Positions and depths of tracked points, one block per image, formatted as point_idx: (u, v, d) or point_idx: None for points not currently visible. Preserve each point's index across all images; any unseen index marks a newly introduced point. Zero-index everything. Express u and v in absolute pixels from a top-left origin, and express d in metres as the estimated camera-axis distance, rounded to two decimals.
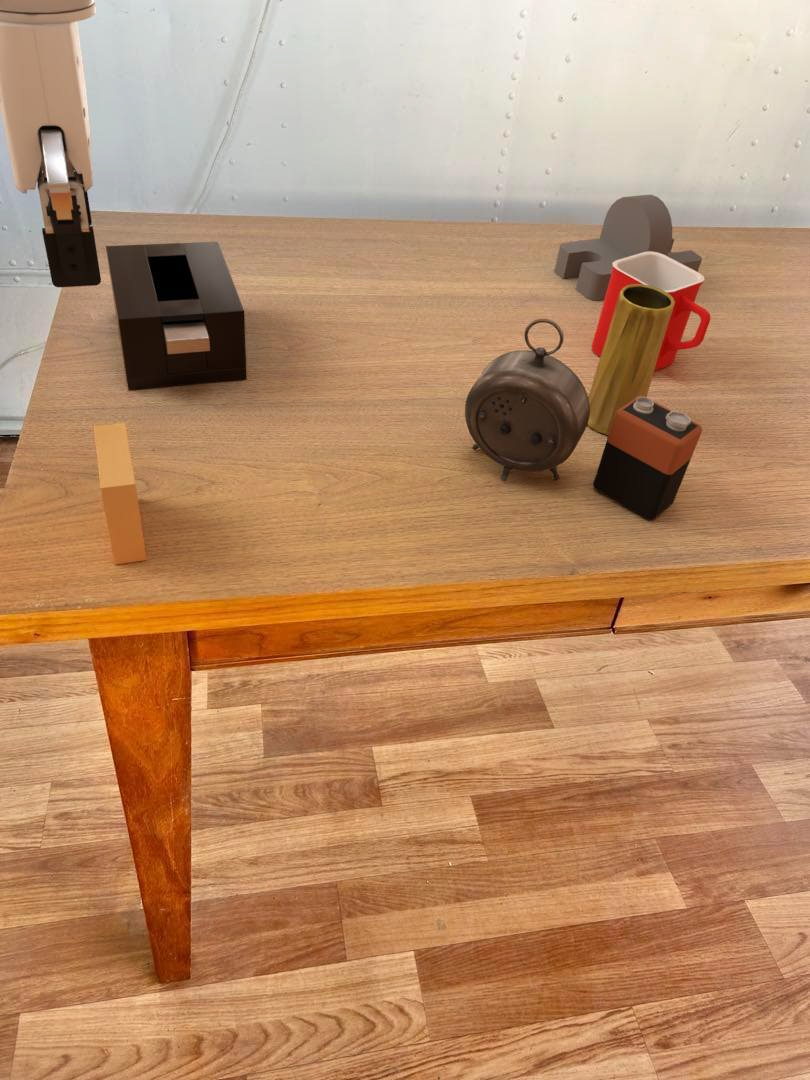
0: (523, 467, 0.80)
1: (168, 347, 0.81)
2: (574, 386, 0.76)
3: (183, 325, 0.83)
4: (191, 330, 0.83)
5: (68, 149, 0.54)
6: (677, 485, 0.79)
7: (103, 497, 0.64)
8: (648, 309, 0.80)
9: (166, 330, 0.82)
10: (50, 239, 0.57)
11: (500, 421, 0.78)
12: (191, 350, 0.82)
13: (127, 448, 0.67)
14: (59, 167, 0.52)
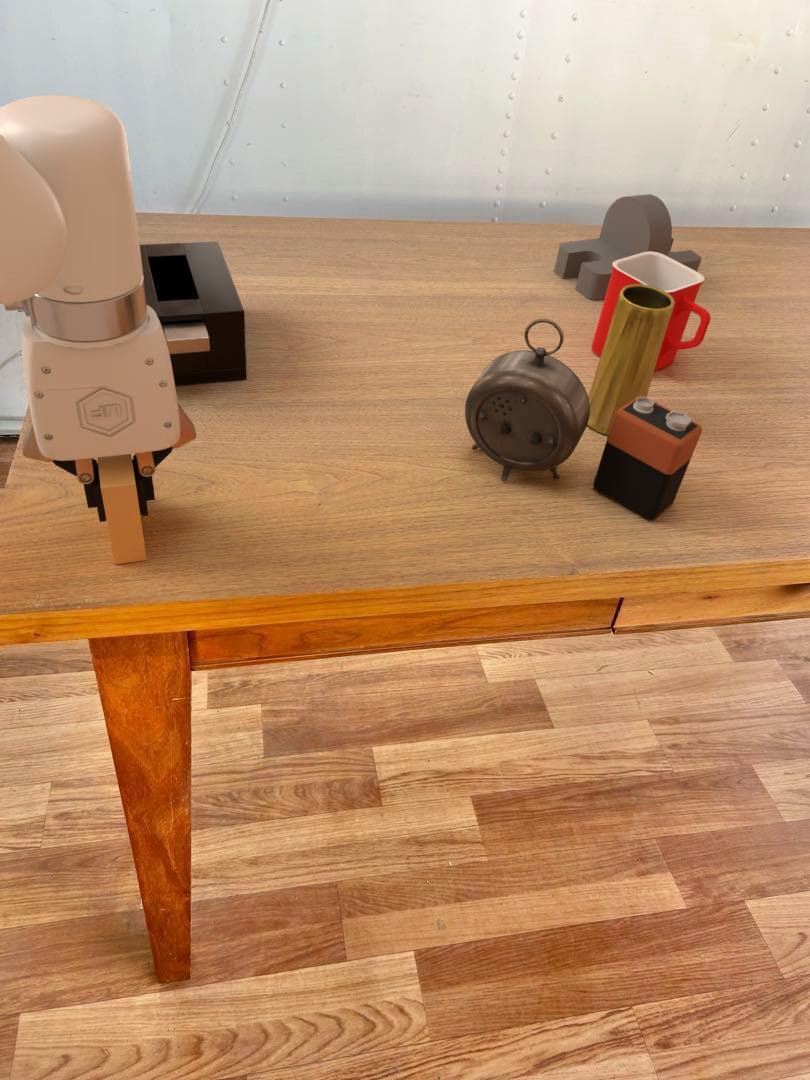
0: (523, 467, 0.80)
1: (168, 347, 0.81)
2: (574, 386, 0.76)
3: (183, 325, 0.83)
4: (191, 330, 0.83)
5: None
6: (677, 485, 0.79)
7: (103, 497, 0.64)
8: (648, 309, 0.80)
9: (166, 330, 0.82)
10: (143, 481, 0.68)
11: (500, 421, 0.78)
12: (191, 350, 0.82)
13: None
14: (187, 418, 0.67)
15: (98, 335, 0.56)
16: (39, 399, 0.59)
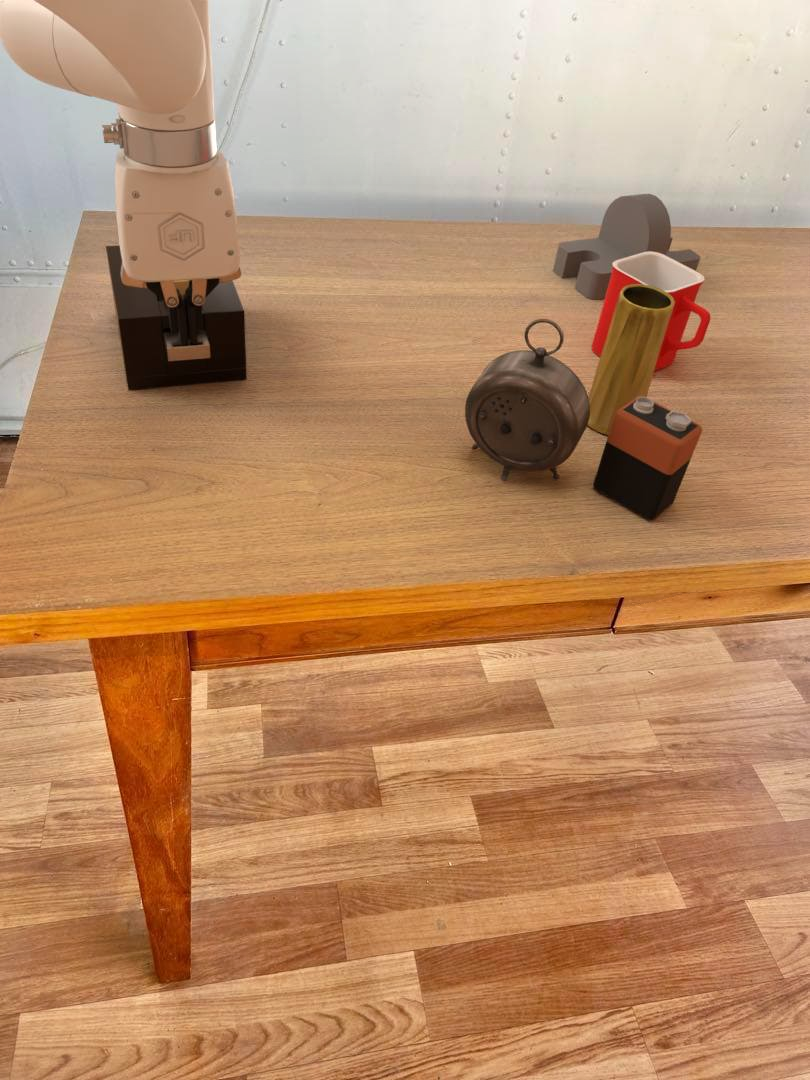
0: (523, 467, 0.80)
1: (169, 354, 0.82)
2: (574, 386, 0.76)
3: None
4: None
5: None
6: (677, 485, 0.79)
7: None
8: (648, 309, 0.80)
9: (167, 337, 0.83)
10: (194, 310, 0.80)
11: (500, 420, 0.78)
12: (192, 357, 0.83)
13: None
14: None
15: (180, 162, 0.69)
16: (128, 221, 0.72)
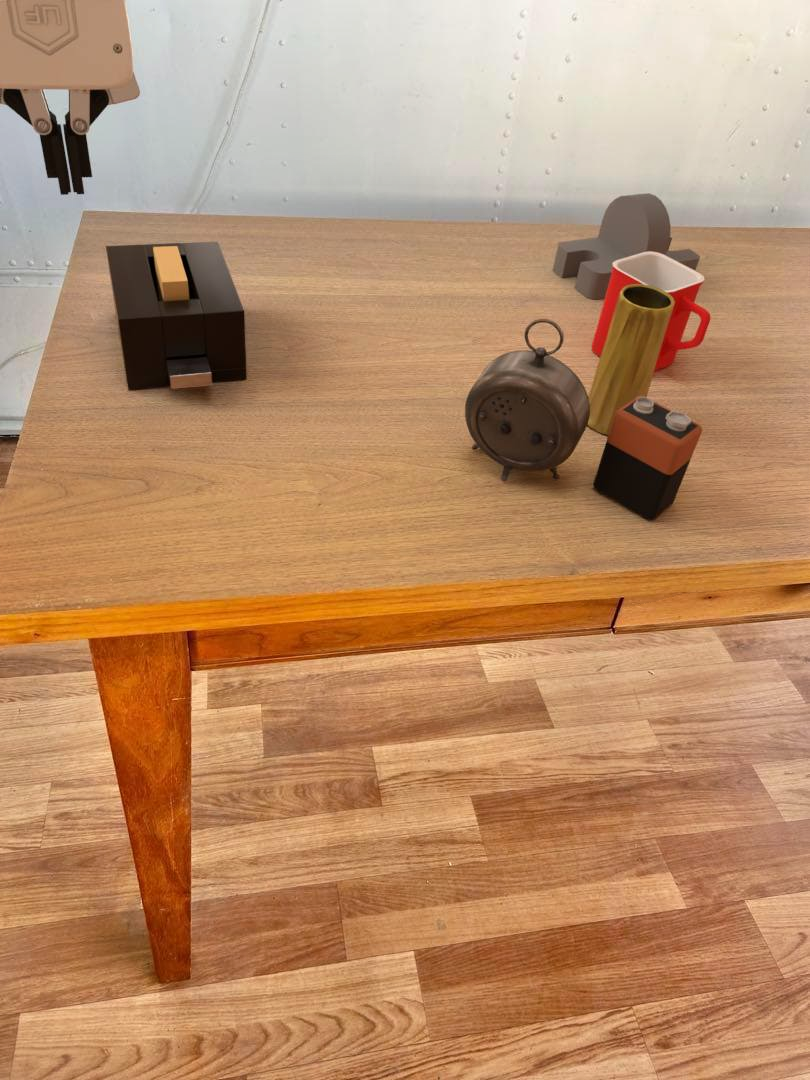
0: (523, 467, 0.80)
1: (172, 382, 0.84)
2: (574, 386, 0.76)
3: (186, 360, 0.86)
4: (194, 366, 0.85)
5: None
6: (677, 485, 0.79)
7: (163, 290, 0.85)
8: (648, 309, 0.80)
9: (170, 365, 0.85)
10: (76, 143, 0.58)
11: (500, 420, 0.78)
12: (194, 385, 0.85)
13: (179, 260, 0.88)
14: None
15: None
16: None
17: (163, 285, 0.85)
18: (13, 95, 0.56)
